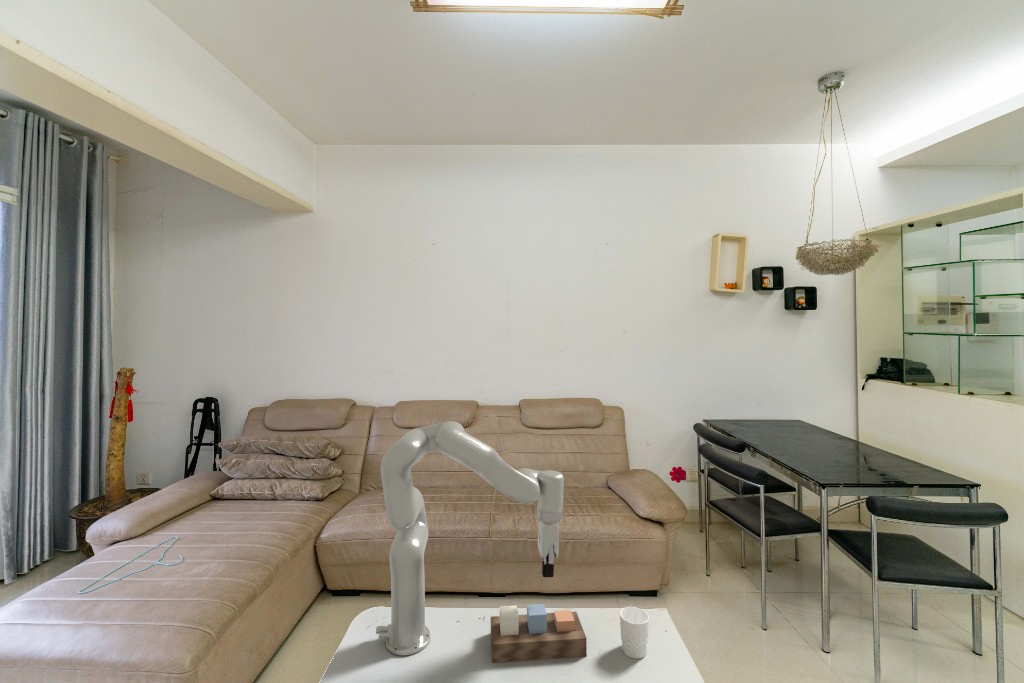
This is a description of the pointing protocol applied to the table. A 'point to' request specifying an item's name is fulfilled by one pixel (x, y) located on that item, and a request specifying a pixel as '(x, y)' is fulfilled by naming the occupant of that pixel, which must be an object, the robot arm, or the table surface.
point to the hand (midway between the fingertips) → (547, 575)
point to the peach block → (564, 621)
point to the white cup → (634, 631)
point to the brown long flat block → (537, 642)
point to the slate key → (536, 619)
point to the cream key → (509, 620)
